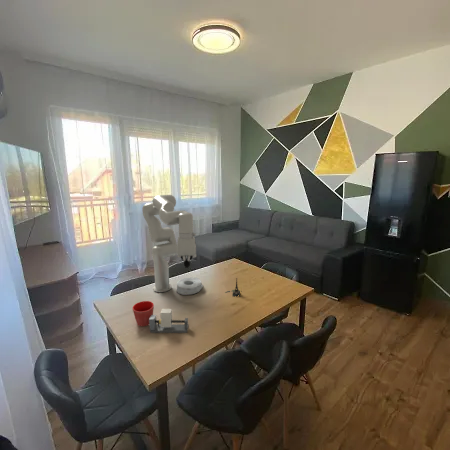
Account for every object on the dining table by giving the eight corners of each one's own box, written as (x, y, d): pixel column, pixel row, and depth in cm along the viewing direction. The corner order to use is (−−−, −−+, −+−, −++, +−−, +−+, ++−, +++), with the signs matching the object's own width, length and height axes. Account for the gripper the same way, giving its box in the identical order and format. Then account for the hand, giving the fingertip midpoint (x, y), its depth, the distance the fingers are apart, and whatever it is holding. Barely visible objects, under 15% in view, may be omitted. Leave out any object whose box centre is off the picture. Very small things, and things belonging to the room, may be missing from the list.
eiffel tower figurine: (250, 297, 160) (251, 278, 158) (239, 302, 154) (239, 282, 151) (235, 288, 172) (235, 271, 169) (224, 293, 165) (224, 274, 163)
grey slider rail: (149, 332, 123) (148, 320, 122) (152, 326, 129) (151, 313, 127) (187, 332, 124) (186, 320, 122) (188, 326, 129) (188, 314, 128)
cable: (204, 284, 177) (204, 277, 176) (199, 296, 160) (199, 288, 159) (180, 283, 179) (180, 275, 178) (173, 295, 162) (172, 286, 160)
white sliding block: (161, 326, 124) (160, 312, 122) (162, 322, 127) (162, 308, 126) (170, 326, 124) (170, 312, 122) (172, 322, 127) (171, 308, 126)
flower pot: (137, 331, 125) (136, 314, 123) (131, 320, 133) (130, 304, 131) (157, 323, 131) (156, 307, 129) (150, 314, 139) (149, 298, 137)
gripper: (200, 233, 138) (201, 264, 141) (173, 233, 138) (175, 264, 141) (199, 237, 130) (199, 269, 134) (171, 237, 130) (172, 269, 134)
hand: (187, 266), depth 138 cm, fingers closed
